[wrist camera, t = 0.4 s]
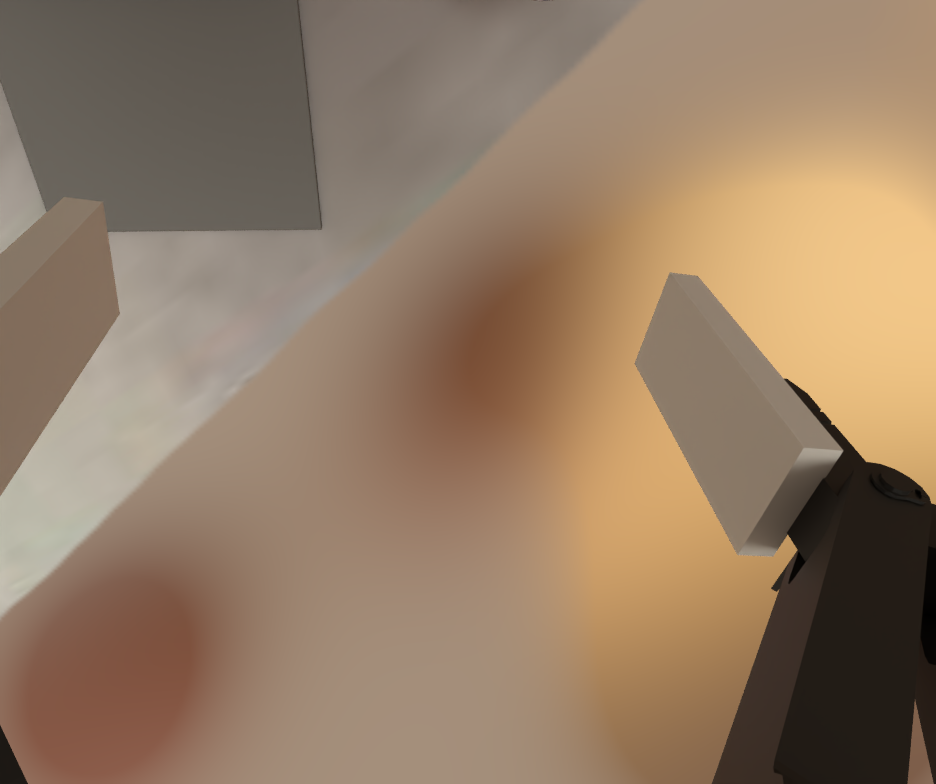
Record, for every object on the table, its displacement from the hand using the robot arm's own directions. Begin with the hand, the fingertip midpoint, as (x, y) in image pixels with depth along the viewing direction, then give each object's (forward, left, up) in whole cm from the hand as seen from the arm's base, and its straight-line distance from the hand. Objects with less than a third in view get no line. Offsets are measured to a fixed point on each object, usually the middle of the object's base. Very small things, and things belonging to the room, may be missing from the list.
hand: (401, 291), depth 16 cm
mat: (+2, -13, -27) cm, 30 cm away
